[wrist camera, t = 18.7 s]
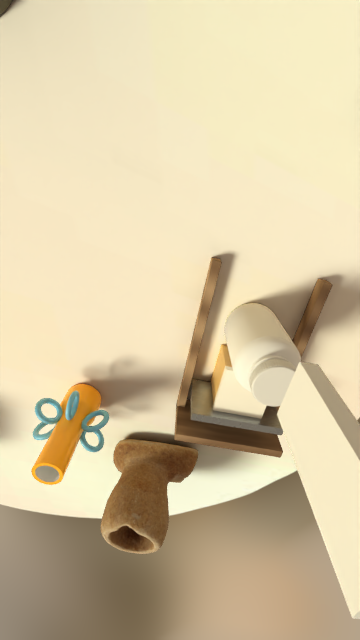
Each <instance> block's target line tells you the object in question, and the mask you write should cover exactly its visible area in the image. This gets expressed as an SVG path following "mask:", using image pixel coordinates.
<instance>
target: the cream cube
mask: <svg viewBox="0 0 360 640" xmlns="http://www.w3.org/2000/svg"><path fill="white" fill-rule="evenodd" d="M211 386H212V395H213V410H214V411H220V412H226V413H232V414H237V415H243V416H249V417H255V418H260V419H261V418H262V416H263V413H264V411H265V408H266V406H267V405H264V404H262V403H260V402H258V401H257V400H256V399H255V398H254V396H253V394H252V392H249V391H248V390H246V389H245V388H243V387H242V386H241V385H240V383H239V382H238V381H237V379H236V377H235V375H234V372H233V368H232V363H231V359H230V355H229V351H228V346H227V345H221V348H220V351H219V355H218V358H217V362H216V365H215V368H214V372H213V375H212V379H211Z"/></svg>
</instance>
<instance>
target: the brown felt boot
mask: <svg viewBox="0 0 360 640" xmlns="http://www.w3.org/2000/svg"><path fill="white" fill-rule="evenodd" d="M197 458H198V450H197V449H193V448H188V447H183V446H178V445H172V444H166V443H160V442H153V441H144V440H134V439H127V440H121V441H120V442H119V443H118V444H117V446H116V448H115V451H114V464H115V466H116V468H117V469H118V470H119V471H120V472H122V475H121V477H120V479H119V481H118V483H117V485H116V486H115V488H114V489H113V491H112V493H111V495H110V497H109V499H108V501H107V504H106V507H105V510H104V514H103V517H102V521H101V532H102V535H103V537H104V539H105V540H106V541H107V542H108V543H109V544H110V545H112V546H114V547H115V548H118V549H120V550H122V551H126V552H131V553H138V554H147V553H152V552H155V551H157V550H159V548H160V547H161V546H162V544H163V541H164V539H165V536H166V532H167V529H168V522H169V511H168V498H167V484H168V483H169V482H178V483H180V482H182V481H183V480H184V478H186V477H188V476H189V475H190V474H191V472H192V471H193V469H194V466H195V464H196V461H197Z"/></svg>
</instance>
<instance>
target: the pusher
mask: <svg viewBox="0 0 360 640" xmlns="http://www.w3.org/2000/svg"><path fill="white" fill-rule="evenodd" d="M277 413H278V411H277V408H276V406H266V408H265V411H264V413H263V416H262V418H261V419H260V418H255V417H249V416H243V415H237V414H232V413H226V412H220V411H214V410H213V395H212V386H211V382H206V381H201V380H195V379H192V381H191V420H195V421H201V422H207V423H213V424H218V425H224V426H230V427H236V428H242V429H248V430H254V431H260V432H266V433H271V434H277V435H282V433H283V429H282V427H281V424H280V421H279V419H278V416H277Z"/></svg>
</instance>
